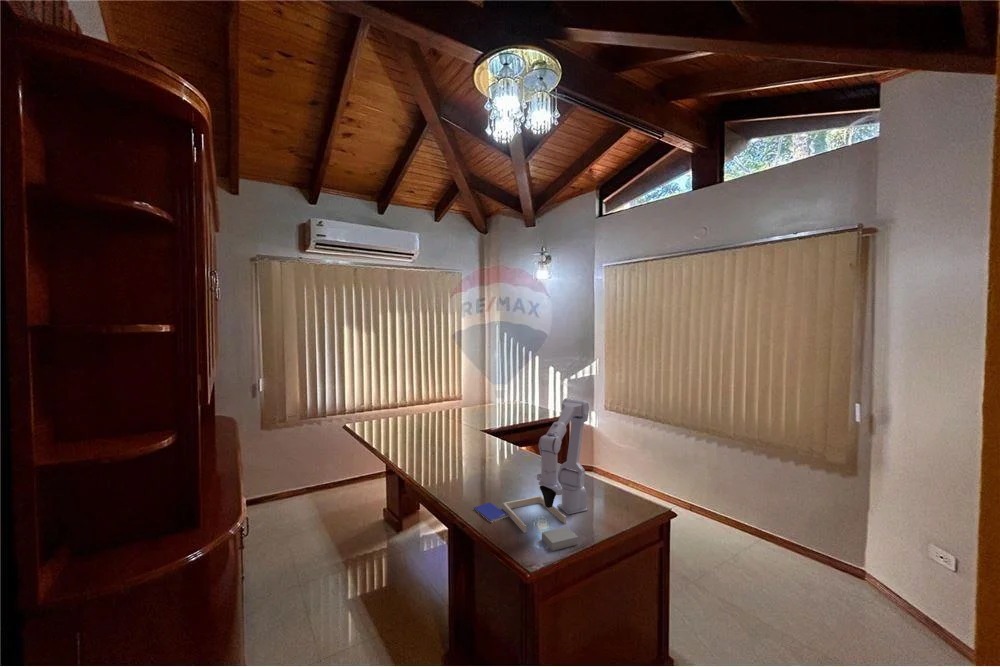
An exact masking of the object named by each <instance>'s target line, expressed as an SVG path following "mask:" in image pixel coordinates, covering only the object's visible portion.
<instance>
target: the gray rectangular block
mask: <svg viewBox="0 0 1000 667" xmlns="http://www.w3.org/2000/svg"><path fill="white" fill-rule="evenodd" d="M541 540H542V542H544V544H545V545H547V547H548V548H549V549H550V550H551V551H552V552H554V551H557V550H561V549H565V548H568V547H569V548H570V547H573V546H576V545H579V536H578V535H577V534H576V533H575V532H573V531H572V530H571V529H570V528H569V527H568V526H563V527H559V528H554V529H551V530H550V529H549V530H545V531H542V532H541Z"/></svg>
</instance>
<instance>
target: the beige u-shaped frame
mask: <svg viewBox="0 0 1000 667" xmlns="http://www.w3.org/2000/svg"><path fill="white" fill-rule="evenodd" d="M535 504H541V505H542V506H543V507H544V508H545V509H547V510H548V511H549V512H550V513H551V514H552V515H553V516H555V517H556V518H557V519H558V520H559V521H560V522H562V523H563V524H564V525H565V524H567V516H566V515H565V514H563V513H562V512H561V511H560V509H558V508H557V507H555V506H554V505H553V506H552V507H550V508H547V507H546V506H545V502H544V498H543V495H538V496H532V497H527V498H523V499H515V500H511V501H506V502H502V511H504V512H505V513H506V514H508V518H510V519H511V520H512V521H513V523H515V525H516V526H517V527H518V528H519V529H520V531H522V532H523V533H524V534H526V533H527V525H526V524H525V522H524V521H522V519H521V518H520V517H519V516H518V515H517V514H516V513H515V512H514V511H513V510H512V509H515V508H522V507H525V506H531V505H535Z"/></svg>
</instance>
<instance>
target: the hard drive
mask: <svg viewBox="0 0 1000 667" xmlns="http://www.w3.org/2000/svg"><path fill="white" fill-rule="evenodd" d="M474 509H475V510H476V511H477V512H479V513H480V514H481V515H482V516H483V517H482V516H481V515H480V514H479V513H478V514H479V515H480V516H481V517H482V518H484V517H485V518H486V519H487V520H486V519H485V518H484V519H485V520H486V521H488V520H489V521H490V522H492V523H494V522H493V521H495V522H498V521H500V519H501V520H503V518H504V519H507V518H509V516H508V514H507V513H506V512H505V511H504V510H503V509H501V508H499V507H497V506H496V505H495V504H493V503H492V502H487V503H484V504H481V505H478V506H474V507H473V510H474ZM475 510H474V511H475ZM476 511H475V512H476ZM477 512H476V513H477ZM506 517H507V518H506ZM497 520H498V521H497ZM489 521H488V522H489ZM490 522H489V523H490Z"/></svg>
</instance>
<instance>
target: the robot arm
mask: <svg viewBox="0 0 1000 667" xmlns="http://www.w3.org/2000/svg"><path fill="white" fill-rule="evenodd" d="M589 411H590V405H589V402H588V401H587V400H582V399H581V400H579V399H574V398H573V399H572V398H567V397H566V398H564V399H563V400H562V403H561V413H560V415H559V418H558V420H557V421H554V422H553V423H552V425H551V426H550V427H549V428H548V430H547V432H546V434H544V435H541V437H540V438H539V441H538V450H539V455H540V456H541V458H540V459H541V462H540V463H541V466H540V467H541V470H540V471H541V473H539V474H537V475H536V480H537V481H538V485H539V490H540V491H541V494H542V497H543V498H544V502H545V506H546V507H547V508H550V507H552V506H554V502H555V499H556V496H561V503H560V504H557V507H558V508H559V509H561V510H562V511H563V512H565V513H566V514H567V515H572V514H575V513H581V512H585V511H588V508H587V498H588V497H587V496H588V495H587V494H588V493H587V490H586V488H585V486H584V485H585V482H586V476H585V475H586V471H585V470H586V469H585V468H584V467H583V466H582V465H581V464H580V457H581V456H580V455H581V448H582V437H583V430H584V424H585V423H586V422H588V418H589V415H590V414H589V413H590V412H589ZM570 422H571V425H570V431H569V438H568V439H569V440H568V441H569V442H568V447H567V448H568V450H567V454H566V461H564V462H563V463H561V464H560V466H559V471H558V453H559V452H560V450H561V447H562V446H561V445H562V442H563V441H562V440H563V438H564V436H565V435H566V434H567V426H568V425H569V423H570ZM546 507H545V508H546ZM547 508H546V509H547Z"/></svg>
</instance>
